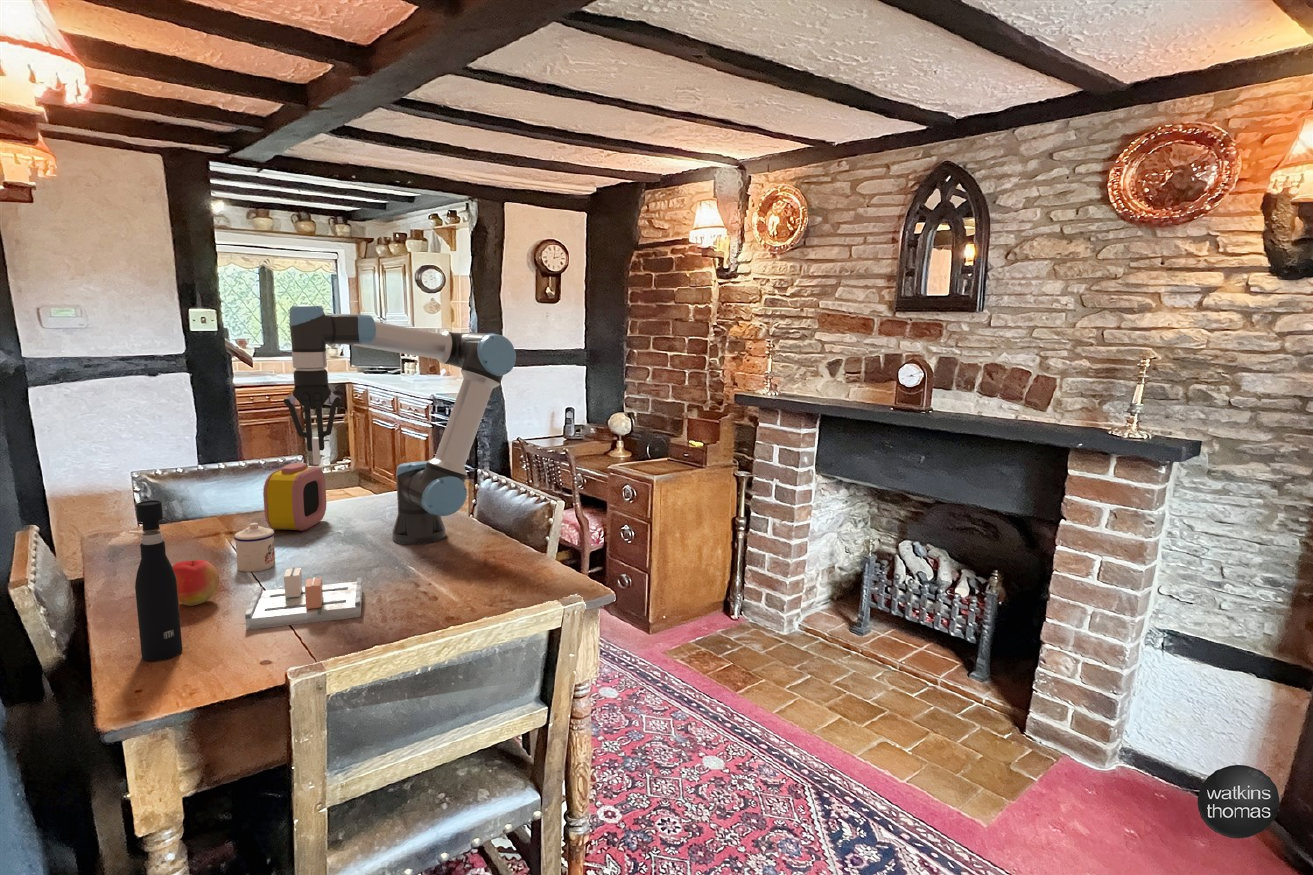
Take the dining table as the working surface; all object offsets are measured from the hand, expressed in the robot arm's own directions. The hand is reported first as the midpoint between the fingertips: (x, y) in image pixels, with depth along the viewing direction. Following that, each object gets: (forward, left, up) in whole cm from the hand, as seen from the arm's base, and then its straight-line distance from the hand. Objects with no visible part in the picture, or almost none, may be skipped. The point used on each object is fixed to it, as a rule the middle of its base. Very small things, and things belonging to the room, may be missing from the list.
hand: (317, 463), depth 175 cm
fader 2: (-1, +28, -26) cm, 39 cm away
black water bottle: (+25, +39, -29) cm, 55 cm away
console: (+1, +24, -29) cm, 38 cm away
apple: (+25, +13, -29) cm, 41 cm away
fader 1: (+4, +20, -26) cm, 33 cm away
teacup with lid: (+16, -11, -29) cm, 35 cm away
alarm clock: (+10, -46, -29) cm, 55 cm away
